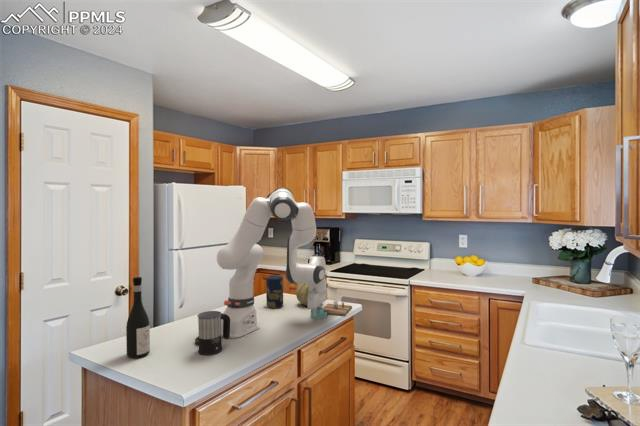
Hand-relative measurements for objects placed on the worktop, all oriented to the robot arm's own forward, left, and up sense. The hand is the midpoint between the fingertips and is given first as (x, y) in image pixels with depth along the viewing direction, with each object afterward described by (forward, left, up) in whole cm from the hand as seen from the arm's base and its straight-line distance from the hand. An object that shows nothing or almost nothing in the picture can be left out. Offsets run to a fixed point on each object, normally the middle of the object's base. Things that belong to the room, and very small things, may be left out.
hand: (317, 313), depth 191 cm
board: (+13, -6, -2) cm, 14 cm away
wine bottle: (-68, +49, -2) cm, 84 cm away
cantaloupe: (+19, +12, -2) cm, 23 cm away
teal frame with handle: (0, -1, -2) cm, 2 cm away
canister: (+10, +29, -2) cm, 31 cm away
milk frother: (-53, +29, -2) cm, 60 cm away
